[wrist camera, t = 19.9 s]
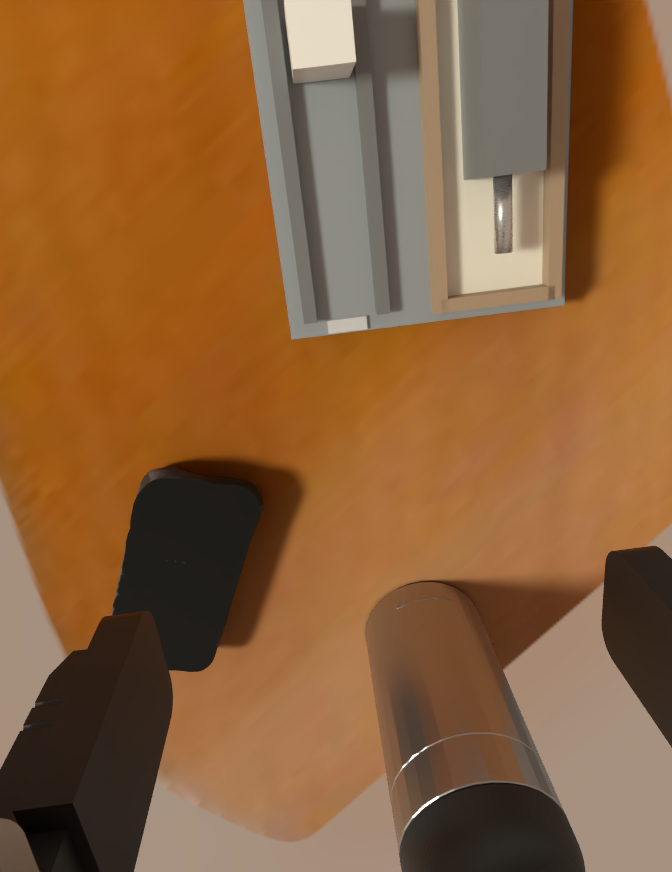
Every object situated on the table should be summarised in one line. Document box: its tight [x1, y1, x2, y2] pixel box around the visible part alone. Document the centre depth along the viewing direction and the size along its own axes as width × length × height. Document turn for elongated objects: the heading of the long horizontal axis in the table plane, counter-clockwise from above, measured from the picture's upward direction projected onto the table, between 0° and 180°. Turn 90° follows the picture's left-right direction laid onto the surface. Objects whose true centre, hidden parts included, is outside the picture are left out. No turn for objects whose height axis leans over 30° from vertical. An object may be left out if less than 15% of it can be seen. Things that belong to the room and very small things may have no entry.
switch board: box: [243, 0, 573, 339], centre depth 34 cm, size 19×17×3 cm
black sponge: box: [112, 466, 263, 672], centre depth 43 cm, size 16×8×4 cm, turn 162°
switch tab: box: [284, 0, 356, 84], centre depth 29 cm, size 3×3×4 cm
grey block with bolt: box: [457, 0, 549, 254], centre depth 31 cm, size 13×3×4 cm, turn 7°
